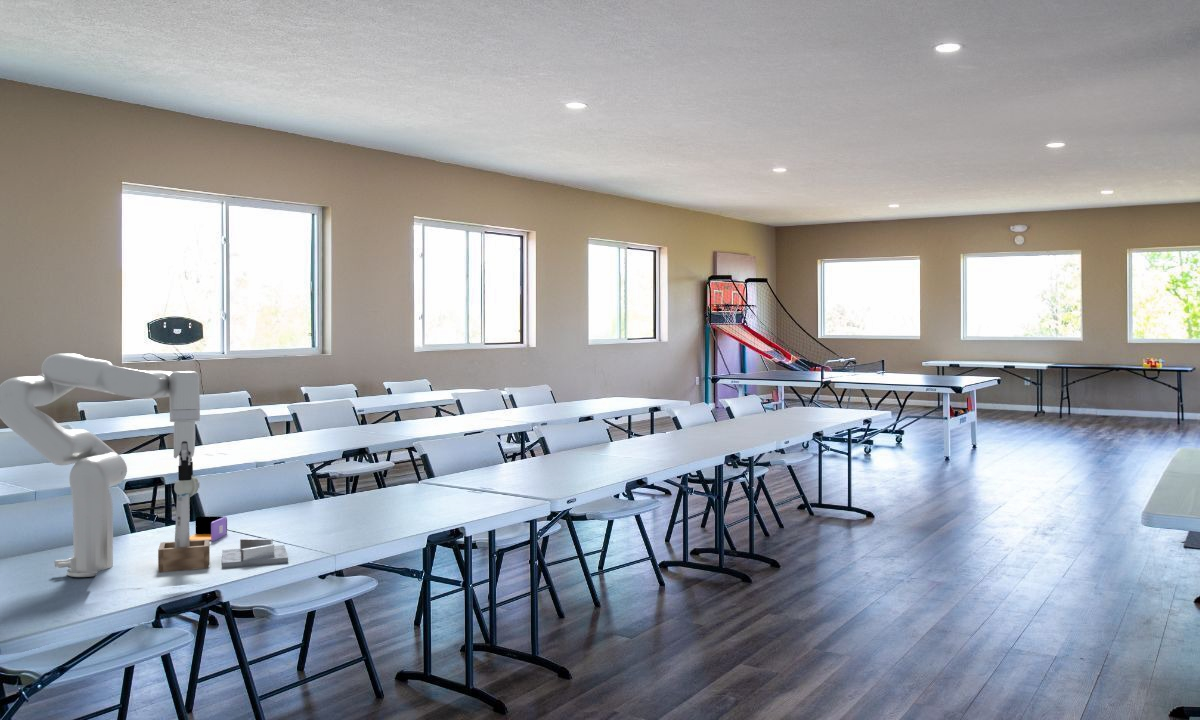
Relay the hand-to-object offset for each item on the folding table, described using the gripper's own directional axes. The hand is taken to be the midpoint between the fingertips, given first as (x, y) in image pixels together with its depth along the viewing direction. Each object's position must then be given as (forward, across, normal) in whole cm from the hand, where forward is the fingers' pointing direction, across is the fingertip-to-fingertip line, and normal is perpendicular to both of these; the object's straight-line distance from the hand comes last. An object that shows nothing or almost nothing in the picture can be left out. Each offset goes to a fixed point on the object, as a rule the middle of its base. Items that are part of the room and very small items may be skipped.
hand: (185, 478), depth 248 cm
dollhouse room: (+25, -38, +4) cm, 45 cm away
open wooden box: (+24, 0, -1) cm, 24 cm away
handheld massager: (+24, 0, -1) cm, 24 cm away
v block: (+24, -2, +17) cm, 30 cm away
